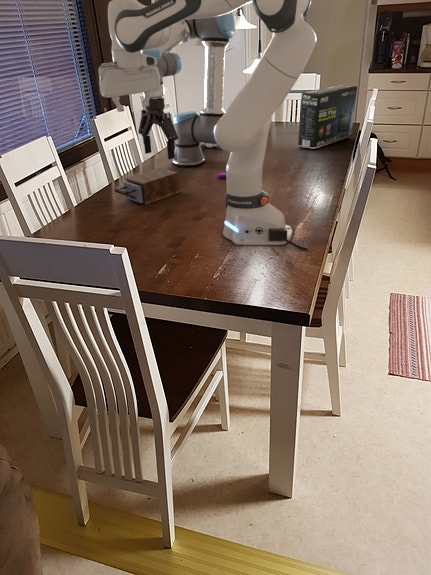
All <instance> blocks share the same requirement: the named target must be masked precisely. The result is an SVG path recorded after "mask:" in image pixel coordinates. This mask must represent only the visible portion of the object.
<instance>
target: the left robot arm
mask: <svg viewBox="0 0 431 575" xmlns="http://www.w3.org/2000/svg"><path fill="white" fill-rule="evenodd" d="M235 33H236V20H235V17H234V14H233V11H232V12H230V13H227V14H224V15H221V16H217V17H212V18H198V19H188V20H184V21H180V22H177V23H175V24H173V25H171V26H170V36H169V39H168V41H167V42H166V43H165V44H164V45H162V46H160V47H157V48H152V49H146V50H142V53H143V54H146V55H149V56H152V57H155V58H156V59H157V65H154V66H156V67H157V68H158V71H159V76H160V88H159V90H156V91H151V97H150V99H149V107H144V109H141V111H140V112H141V113H140V121H139V126H138V130H137V131H138V134H139V135H140V136H141V137H142V143H143V146H144V154H145V155H148V154H151V153H153V151H152V143H151V141H152V140H151V135H150V132H151V130H152V128H153V126H154V125H157V126H158V127H159V128H160V129H161V131H162V132H163V135H164V136H165V137H166V140H167V141H166V149H167V150H166V151H167V159H168V160H172V164H173V166H176V167H179V168H194V167H199V166H202V165H204V164H205V163H206V162H205V155H204V153H203V151H202V150H204V149H205V148H206V147H207V146H205V145H204V146H200V142H201V143H211V144H217V143H216V141H215V138H214V128H215V125H216V124H217V122H218V121H219V119H220V118H221V117H222V116H223V115H224V113H225V112H226V110H224V86H225V85H224V84H225V82H224V81H225V63H226V62H225V59H226V48H227V47H228V45H229V44H230V40H231V39H232V38H233V37H234V35H235ZM195 39H200V40H201V44H202V45H203V47H204V64H203V65H204V66H203V67H204V70H203V106H202V109H200V111H196V110H191V111H185V112H180V113H176V114H175V115H174V116H173V120H172V115H171V112H169V111H168V112H165V111H164V109H166V100H165V97H164V96H165V87H164V78H165V77H170V76H172V77H173V76H175V75H177V74H179V73H180V72H181V70H182V68H183V67H182V66H183V61H182V58H181V57H180V55H179V54H178V53H176V52H172V51H174V50H175V49H176V48H177V47H178V46H179V45H180V44H184V43H187V42H188V41H190V40H195ZM143 97H144V98H145V95H144V92H143Z"/></svg>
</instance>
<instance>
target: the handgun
mask: <svg viewBox="0 0 431 575" xmlns="http://www.w3.org/2000/svg"><path fill="white" fill-rule="evenodd" d="M217 178H218V179H226V172H225V173H224V172H223V173H221V172H220V173H217Z"/></svg>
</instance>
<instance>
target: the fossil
mask: <svg viewBox="0 0 431 575" xmlns="http://www.w3.org/2000/svg"><path fill="white" fill-rule="evenodd" d="M204 145H205V146H206V147H207V148H216V149H219V150H220V149H221V148H220V147H219V146H218V144H211V143H201V142H200V147H203V146H204ZM221 150H222V149H221Z"/></svg>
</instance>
